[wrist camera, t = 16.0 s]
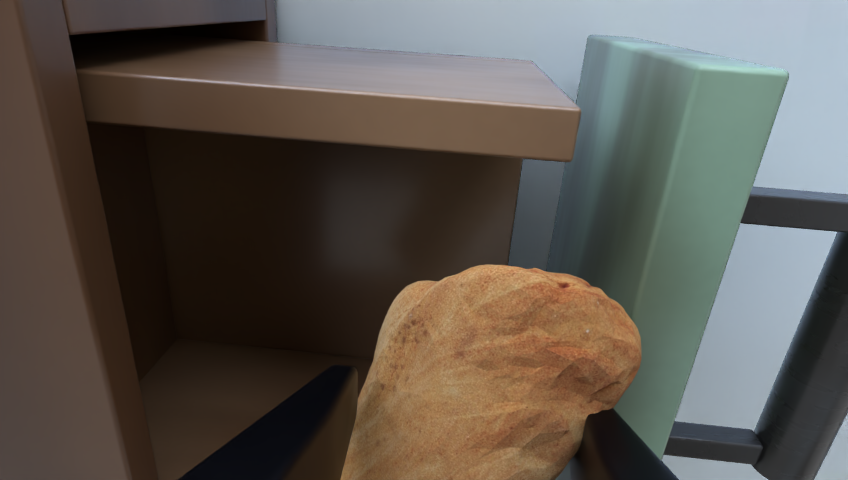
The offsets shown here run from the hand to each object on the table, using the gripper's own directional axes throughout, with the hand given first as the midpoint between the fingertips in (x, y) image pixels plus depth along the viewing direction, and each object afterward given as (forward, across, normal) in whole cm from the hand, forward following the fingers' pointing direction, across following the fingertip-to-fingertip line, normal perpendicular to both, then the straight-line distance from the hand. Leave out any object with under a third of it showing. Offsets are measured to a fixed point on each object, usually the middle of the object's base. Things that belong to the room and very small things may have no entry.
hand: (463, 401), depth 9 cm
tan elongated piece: (+1, 0, +1) cm, 1 cm away
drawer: (+8, +1, 0) cm, 8 cm away
